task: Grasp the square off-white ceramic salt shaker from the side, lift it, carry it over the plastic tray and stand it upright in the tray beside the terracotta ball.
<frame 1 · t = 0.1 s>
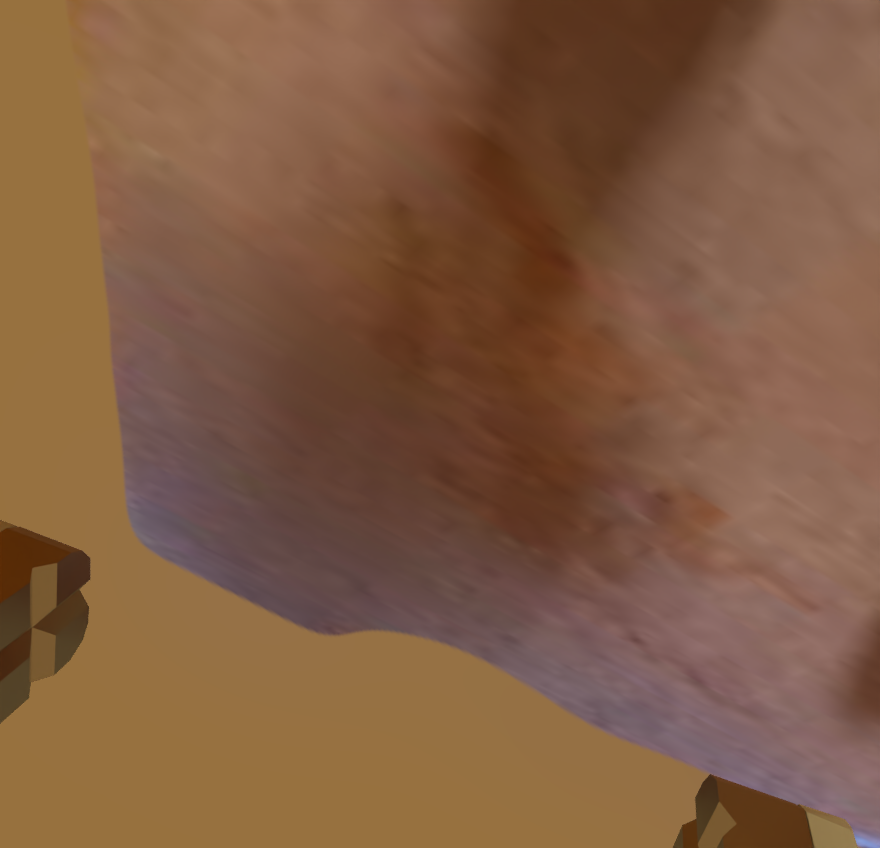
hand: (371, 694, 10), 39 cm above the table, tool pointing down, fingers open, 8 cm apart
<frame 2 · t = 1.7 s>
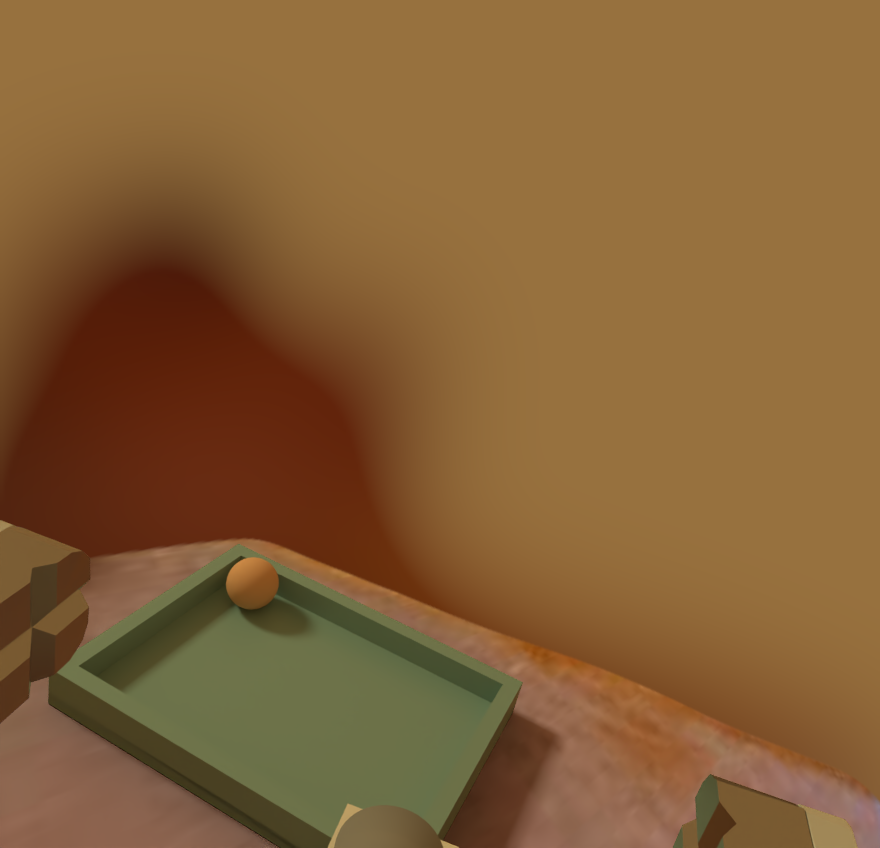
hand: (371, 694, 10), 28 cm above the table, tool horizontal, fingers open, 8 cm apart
ball: (249, 603, 53), point 1 cm above the table, touching tray
tray: (298, 708, 46), on the table
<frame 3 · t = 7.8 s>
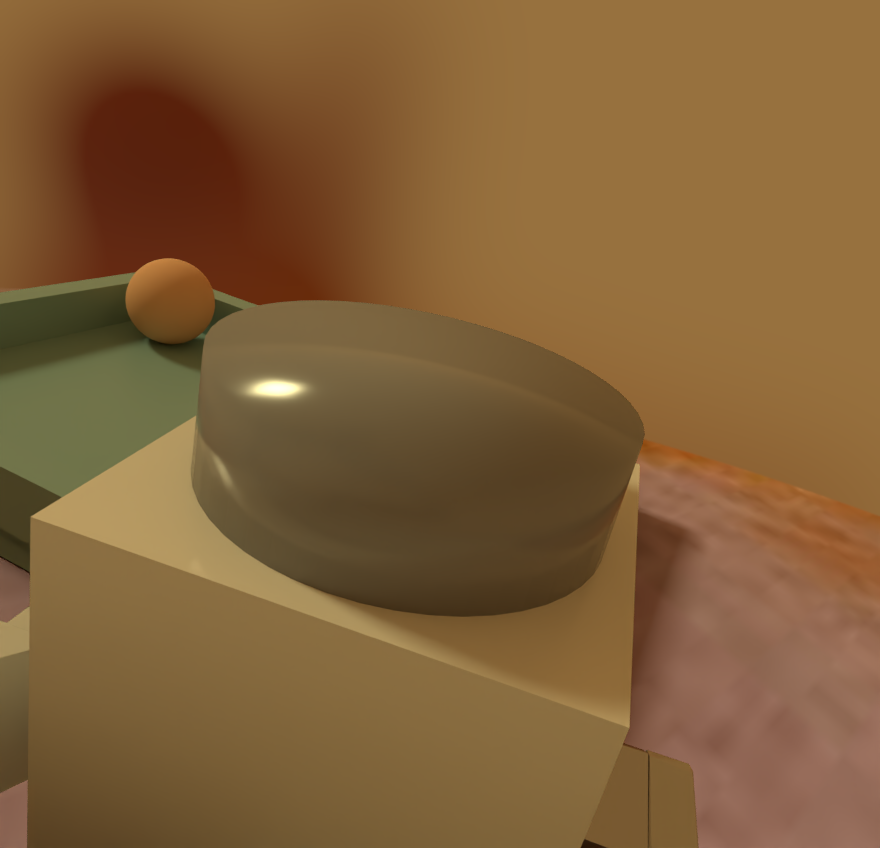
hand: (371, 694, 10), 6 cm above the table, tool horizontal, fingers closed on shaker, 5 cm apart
ball: (167, 341, 32), point 1 cm above the table, touching tray
tray: (236, 462, 26), on the table
when the fingers open (7 cm above the table, at t = 14.6 s): shaker stays where it is, resting on tray.
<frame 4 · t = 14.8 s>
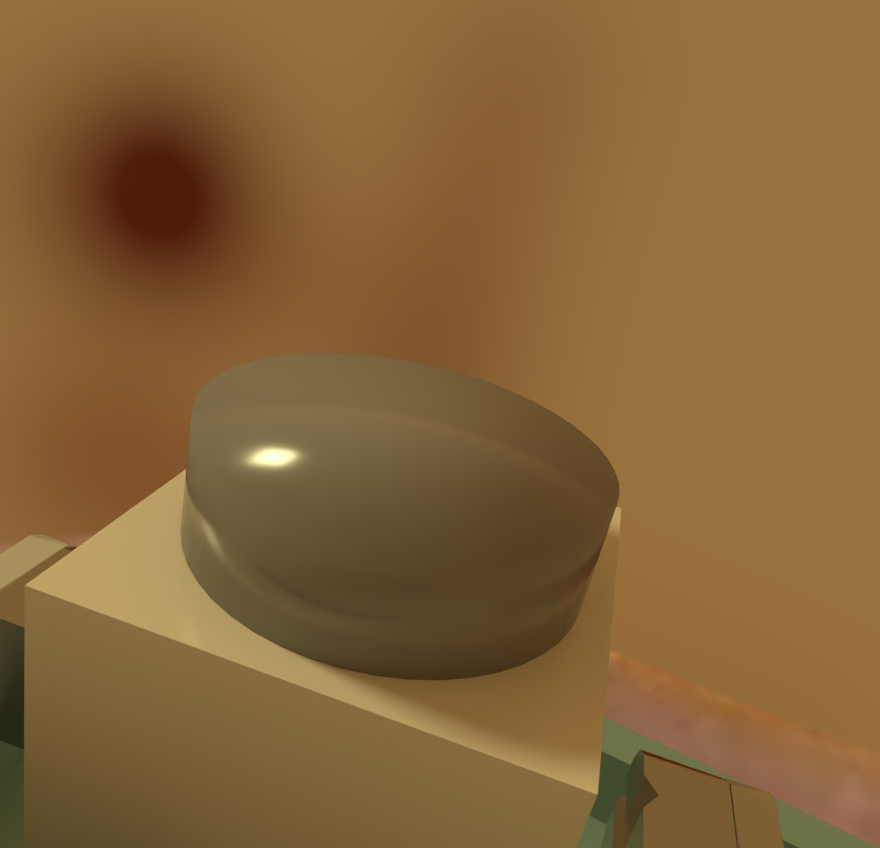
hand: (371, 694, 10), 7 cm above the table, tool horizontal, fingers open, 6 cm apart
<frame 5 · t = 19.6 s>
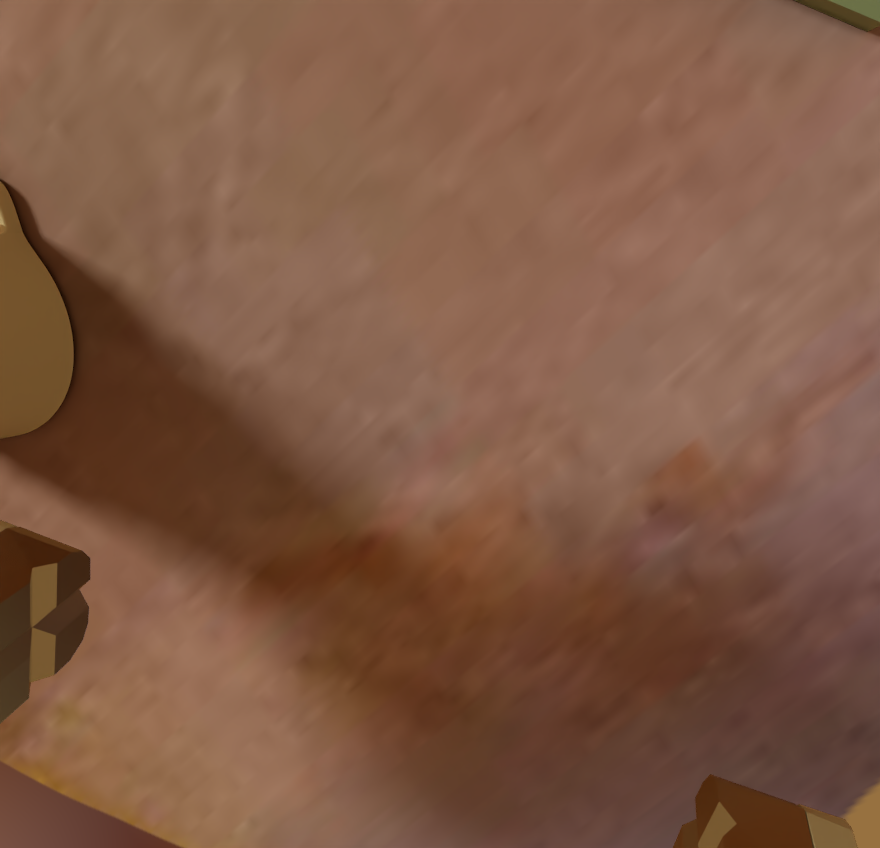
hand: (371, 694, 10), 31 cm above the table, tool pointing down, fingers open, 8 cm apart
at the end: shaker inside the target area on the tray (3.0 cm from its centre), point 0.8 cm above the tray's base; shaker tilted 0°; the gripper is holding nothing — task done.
